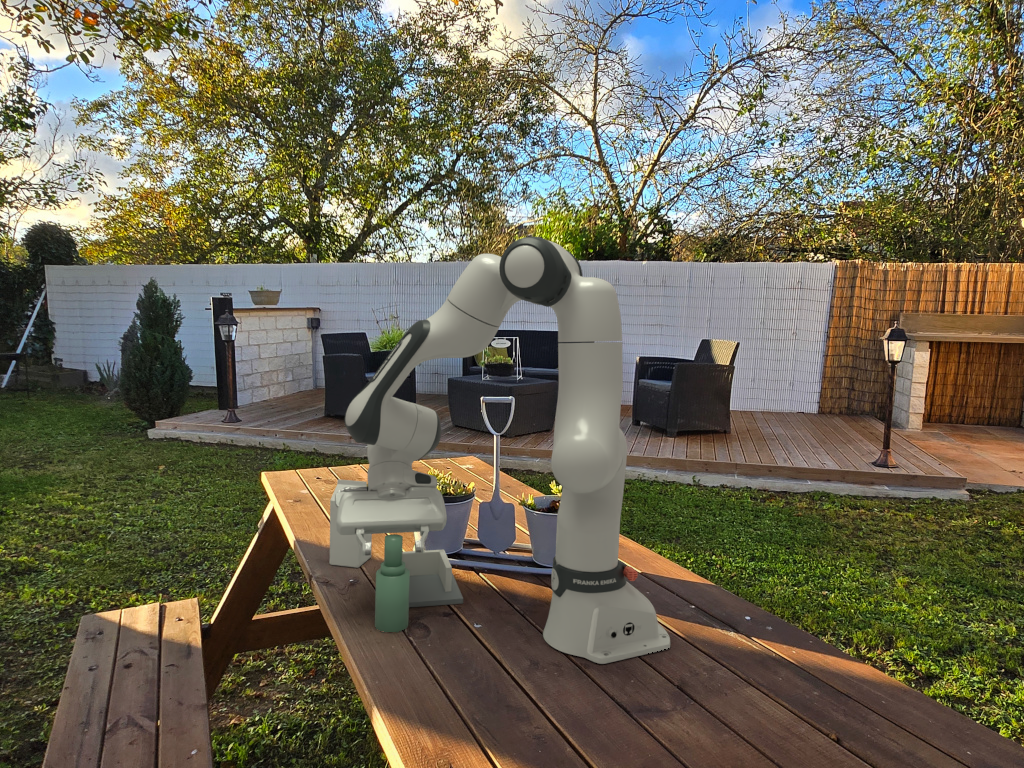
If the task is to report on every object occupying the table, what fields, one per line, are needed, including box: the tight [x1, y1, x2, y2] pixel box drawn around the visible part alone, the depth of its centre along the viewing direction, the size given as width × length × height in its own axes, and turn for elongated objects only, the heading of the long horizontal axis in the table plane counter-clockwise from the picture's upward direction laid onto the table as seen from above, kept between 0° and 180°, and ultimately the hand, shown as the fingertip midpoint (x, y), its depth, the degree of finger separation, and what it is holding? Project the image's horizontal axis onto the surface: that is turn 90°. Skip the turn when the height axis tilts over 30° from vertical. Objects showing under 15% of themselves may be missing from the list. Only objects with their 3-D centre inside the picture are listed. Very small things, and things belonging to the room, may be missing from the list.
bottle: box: [374, 533, 410, 633], centre depth 116 cm, size 6×6×16 cm
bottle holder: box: [402, 549, 464, 608], centre depth 134 cm, size 15×18×6 cm
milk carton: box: [329, 478, 373, 568], centre depth 147 cm, size 7×7×19 cm
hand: (393, 552), depth 115 cm, fingers open, 8 cm apart
